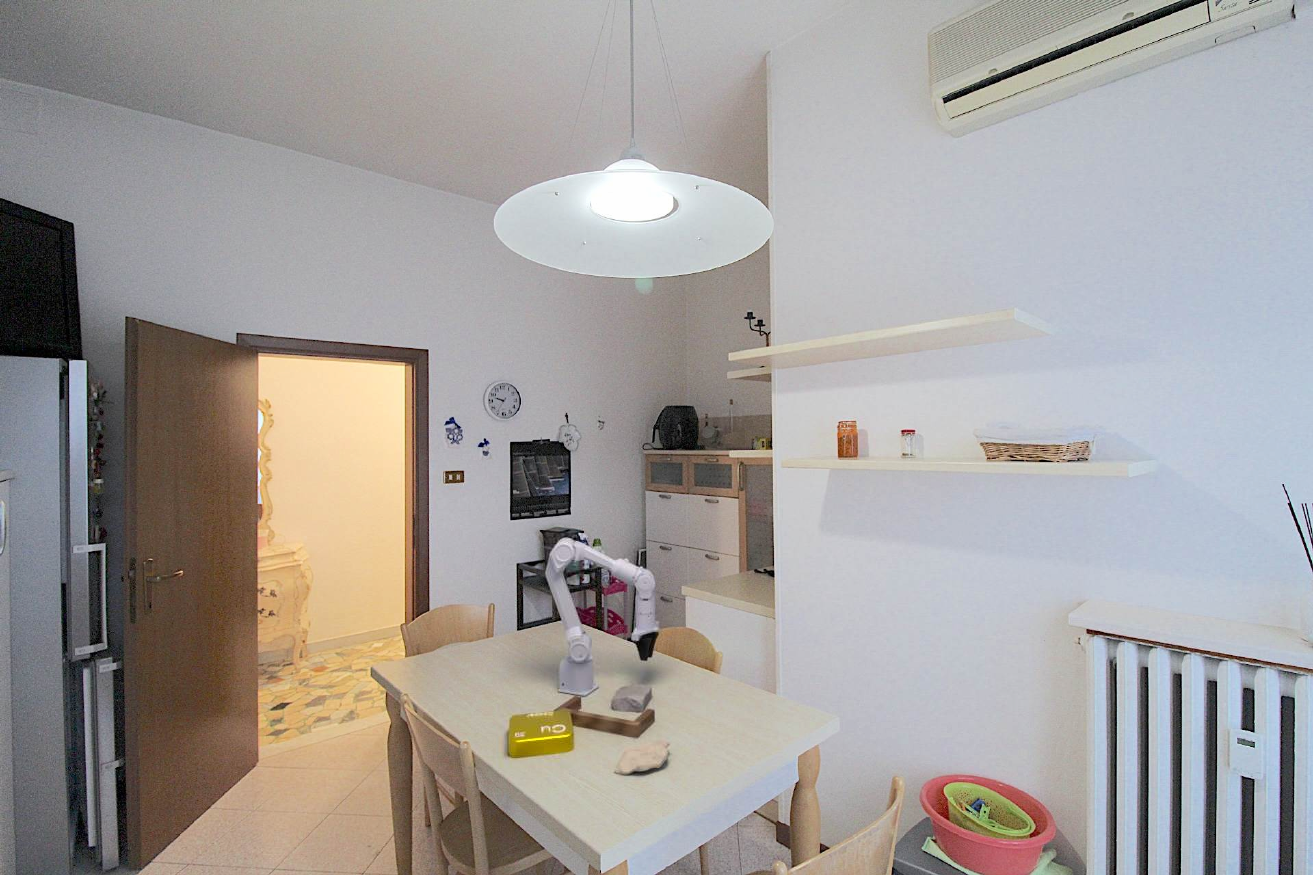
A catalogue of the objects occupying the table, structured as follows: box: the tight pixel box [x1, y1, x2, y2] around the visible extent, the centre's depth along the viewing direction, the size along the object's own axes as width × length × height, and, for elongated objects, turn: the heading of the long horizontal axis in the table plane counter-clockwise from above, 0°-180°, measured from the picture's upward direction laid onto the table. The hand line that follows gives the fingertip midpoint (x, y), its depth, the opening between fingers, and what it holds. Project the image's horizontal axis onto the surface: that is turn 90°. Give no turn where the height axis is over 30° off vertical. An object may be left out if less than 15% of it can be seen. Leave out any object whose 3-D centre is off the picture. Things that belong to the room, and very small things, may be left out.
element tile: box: [507, 710, 575, 759], centre depth 150 cm, size 15×15×5 cm
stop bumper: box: [553, 695, 656, 739], centre depth 160 cm, size 24×10×3 cm, turn 65°
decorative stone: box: [613, 739, 671, 776], centre depth 138 cm, size 11×4×15 cm
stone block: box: [610, 684, 653, 713], centre depth 171 cm, size 12×5×10 cm
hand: (646, 658), depth 183 cm, fingers closed
